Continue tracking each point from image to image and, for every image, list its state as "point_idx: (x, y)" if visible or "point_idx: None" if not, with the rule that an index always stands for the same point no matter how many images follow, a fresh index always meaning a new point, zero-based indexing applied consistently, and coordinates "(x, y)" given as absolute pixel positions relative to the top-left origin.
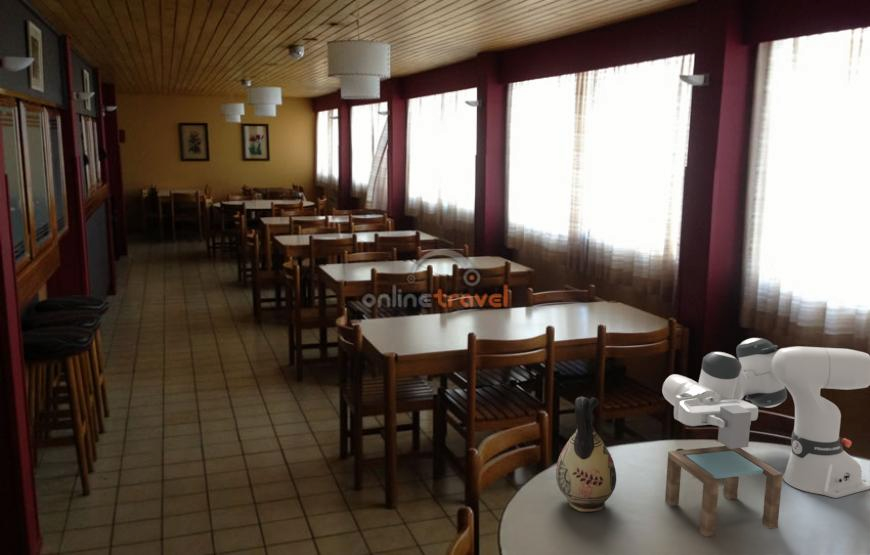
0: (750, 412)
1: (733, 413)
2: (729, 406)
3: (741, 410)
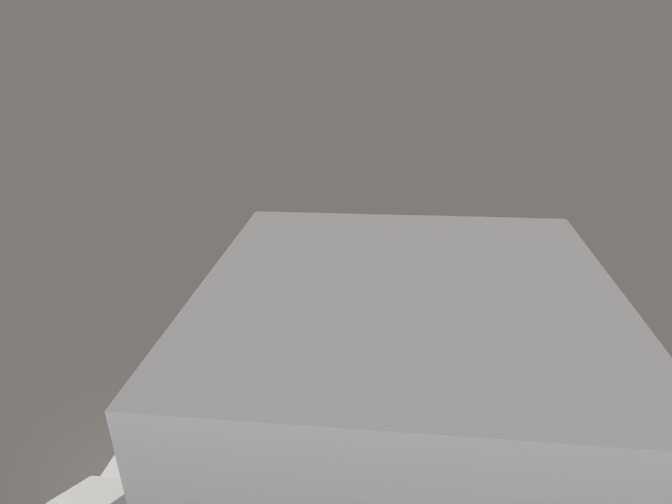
0: (266, 218)
1: (558, 219)
2: (439, 396)
3: (344, 249)
